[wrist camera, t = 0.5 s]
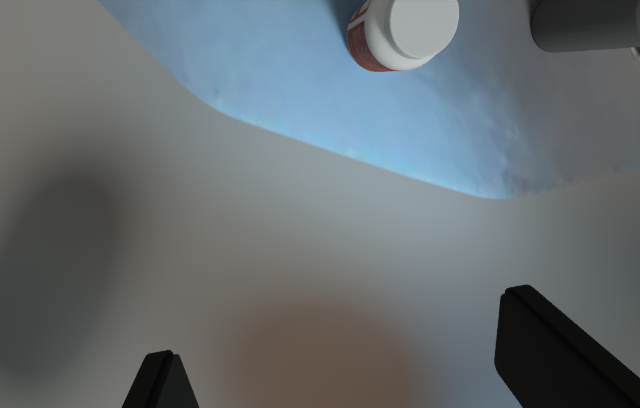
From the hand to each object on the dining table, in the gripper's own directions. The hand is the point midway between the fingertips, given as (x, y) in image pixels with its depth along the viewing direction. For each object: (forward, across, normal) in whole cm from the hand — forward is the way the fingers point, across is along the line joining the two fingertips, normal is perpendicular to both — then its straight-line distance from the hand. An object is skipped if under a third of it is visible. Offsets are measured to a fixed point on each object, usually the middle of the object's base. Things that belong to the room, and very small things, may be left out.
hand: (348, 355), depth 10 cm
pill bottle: (+27, -9, -10) cm, 30 cm away
